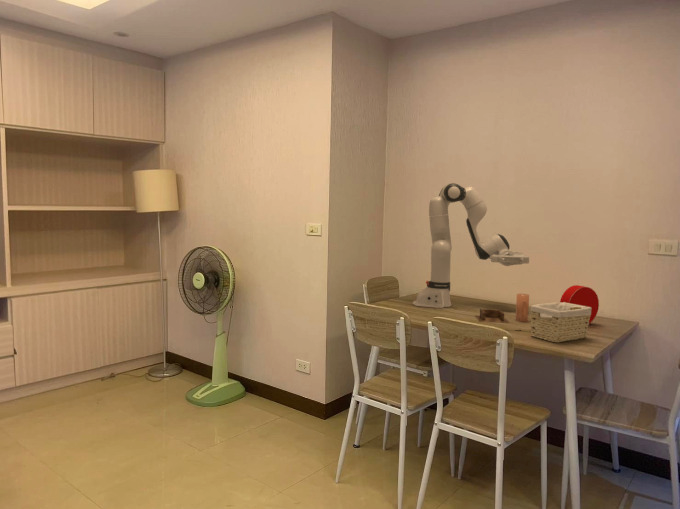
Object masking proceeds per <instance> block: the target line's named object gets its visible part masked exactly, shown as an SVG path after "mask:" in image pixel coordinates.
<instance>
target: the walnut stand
mask: <svg viewBox="0 0 680 509" xmlns="http://www.w3.org/2000/svg"><path fill="white" fill-rule="evenodd" d="M474 317H475V318H476V320H477V321H478V322H479V323H498V324H500V323H501V324H511V323H510V321H509V320H508V319H506V317H505V312H503V311H502V310H501V309H492V308H491V309H486V308H479V315H474Z"/></svg>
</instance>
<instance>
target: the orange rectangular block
mask: <svg viewBox="0 0 680 509" xmlns="http://www.w3.org/2000/svg"><path fill="white" fill-rule="evenodd" d="M529 307H530V294H527V293H517V294H516V303H515V321H516V322H519V323H527V322H529V309H530V308H529Z"/></svg>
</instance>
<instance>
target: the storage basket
mask: <svg viewBox="0 0 680 509" xmlns="http://www.w3.org/2000/svg"><path fill="white" fill-rule="evenodd" d="M590 316H591V307H586V306H581V305H576V304H570V303H565V302H562V303H560V301H559V302H558V301H557V302H548V303H538V304H532V305H531V306H530V335H531V336H532V337H534V338H537V339H541V340H544V341H549V342H553V343H562V342H563V343H564V342H568V341H576V340H580V339H581V340H582V339H586V338H587V334H588V330H589V320H590Z"/></svg>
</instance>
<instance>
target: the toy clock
mask: <svg viewBox="0 0 680 509" xmlns="http://www.w3.org/2000/svg"><path fill="white" fill-rule="evenodd" d="M559 302H560V303H562V302H565V303H570V304H576V305H581V306H586V307H591V316H590V320H589V324H591V323H592V322H593V321H594V320H595V319H596V316H597V314H598V311H599V307H600V304H599V303H600V300H599V296H598V294H597V292H596V291H595V290H594V289H593V288H591V287H588V286H584V285H583V286H582V285H578V284H577V285H572V286H569V287H568V288H567V289H566V290H565V291H564V292H563V294H562V295H561V298H560V301H559Z"/></svg>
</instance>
